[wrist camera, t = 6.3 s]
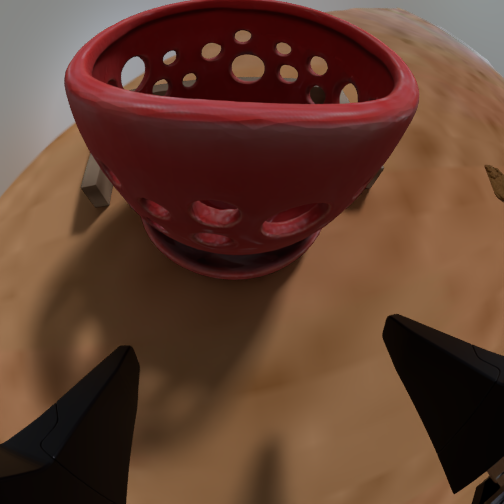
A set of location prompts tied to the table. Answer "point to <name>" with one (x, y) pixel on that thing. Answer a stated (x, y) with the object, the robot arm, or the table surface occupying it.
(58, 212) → the table surface
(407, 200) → the table surface
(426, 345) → the robot arm
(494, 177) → the primitive tool
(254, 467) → the table surface
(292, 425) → the table surface
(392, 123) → the plant pot
